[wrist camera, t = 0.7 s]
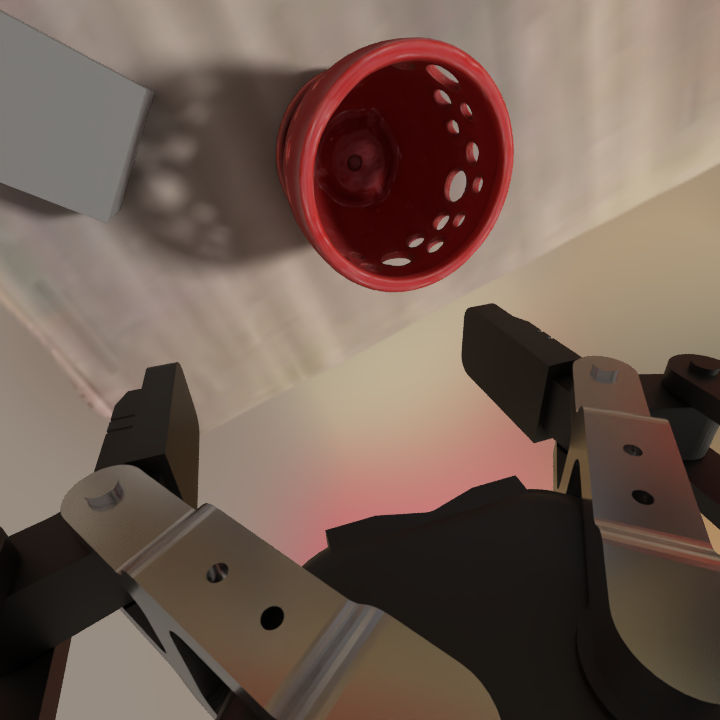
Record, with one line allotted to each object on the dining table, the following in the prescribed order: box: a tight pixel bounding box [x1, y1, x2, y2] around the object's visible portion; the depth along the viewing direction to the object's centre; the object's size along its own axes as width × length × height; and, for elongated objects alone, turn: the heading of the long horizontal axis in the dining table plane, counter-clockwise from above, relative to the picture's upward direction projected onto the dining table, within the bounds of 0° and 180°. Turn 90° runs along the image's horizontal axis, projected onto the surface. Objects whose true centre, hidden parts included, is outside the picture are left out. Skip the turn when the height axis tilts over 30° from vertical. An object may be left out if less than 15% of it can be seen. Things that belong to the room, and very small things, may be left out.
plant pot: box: [276, 37, 514, 292], centre depth 29 cm, size 13×13×12 cm
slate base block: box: [0, 10, 155, 223], centre depth 26 cm, size 8×8×5 cm
